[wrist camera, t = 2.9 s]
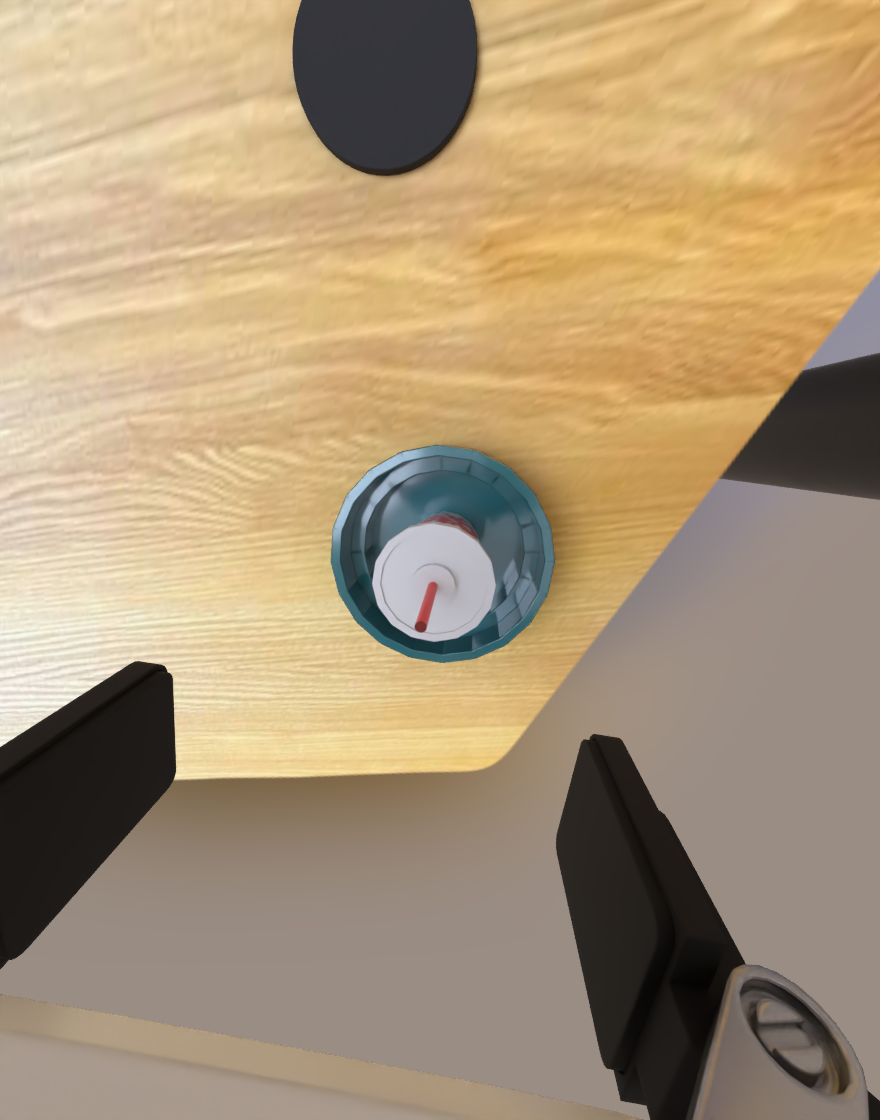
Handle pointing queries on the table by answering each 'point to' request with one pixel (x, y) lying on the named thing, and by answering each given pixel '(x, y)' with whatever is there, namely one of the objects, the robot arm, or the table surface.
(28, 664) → the table surface
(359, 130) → the coaster
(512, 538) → the bowl
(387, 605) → the beverage cup
